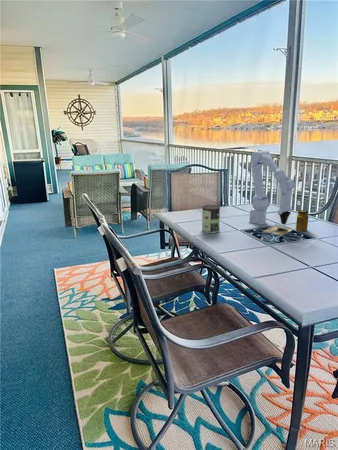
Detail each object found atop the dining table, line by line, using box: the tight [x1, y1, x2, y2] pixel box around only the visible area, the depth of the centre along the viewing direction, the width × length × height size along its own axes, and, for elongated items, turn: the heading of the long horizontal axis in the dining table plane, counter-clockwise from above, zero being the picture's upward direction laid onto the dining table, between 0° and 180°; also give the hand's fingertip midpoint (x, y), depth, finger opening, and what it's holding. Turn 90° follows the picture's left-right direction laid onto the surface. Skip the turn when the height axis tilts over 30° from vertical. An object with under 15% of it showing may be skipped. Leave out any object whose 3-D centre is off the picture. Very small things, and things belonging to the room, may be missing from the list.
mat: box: [263, 225, 293, 236], centre depth 185 cm, size 12×14×1 cm
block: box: [273, 223, 289, 230], centre depth 184 cm, size 6×2×6 cm
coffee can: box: [201, 204, 221, 234], centre depth 187 cm, size 10×10×14 cm
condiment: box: [295, 209, 309, 233], centre depth 183 cm, size 7×8×12 cm
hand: (283, 223), depth 185 cm, fingers closed
